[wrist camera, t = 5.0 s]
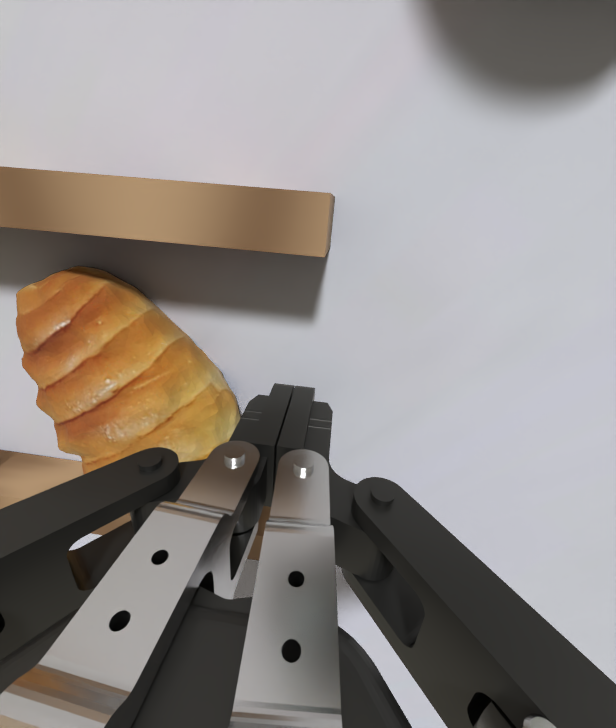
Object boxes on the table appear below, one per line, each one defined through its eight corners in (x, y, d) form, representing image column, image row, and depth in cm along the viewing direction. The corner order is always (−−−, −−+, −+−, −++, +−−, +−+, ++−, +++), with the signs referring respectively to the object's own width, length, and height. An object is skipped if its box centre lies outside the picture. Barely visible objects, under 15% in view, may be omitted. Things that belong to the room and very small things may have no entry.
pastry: (16, 310, 14) (-96, 343, 10) (137, 226, 12) (50, 232, 8) (156, 475, 17) (107, 544, 13) (271, 429, 15) (248, 496, 11)
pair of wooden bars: (335, 197, 10) (325, 188, 6) (303, 517, 16) (288, 615, 12) (-128, 159, 12) (-380, 132, 8) (-1, 471, 17) (-105, 548, 13)
